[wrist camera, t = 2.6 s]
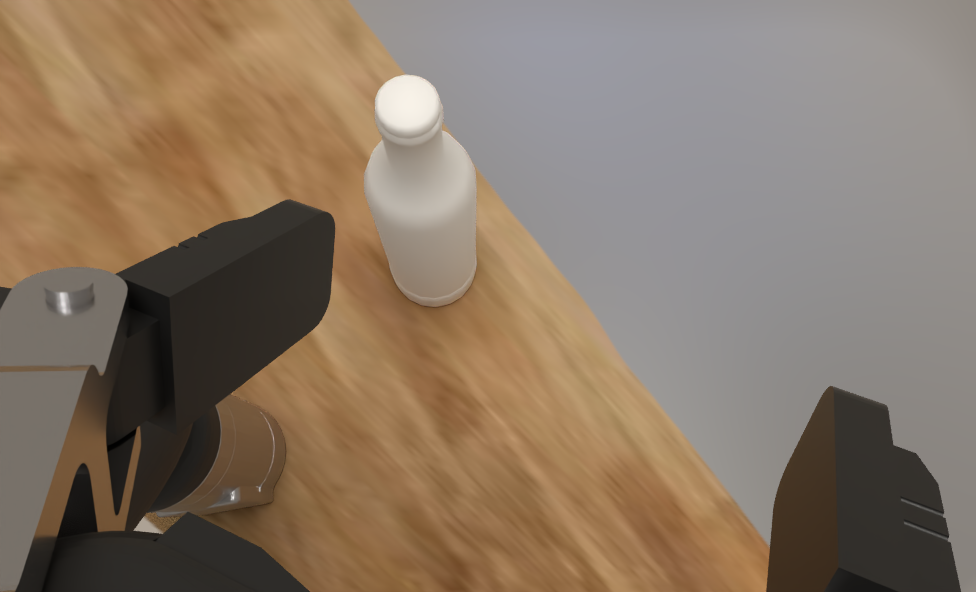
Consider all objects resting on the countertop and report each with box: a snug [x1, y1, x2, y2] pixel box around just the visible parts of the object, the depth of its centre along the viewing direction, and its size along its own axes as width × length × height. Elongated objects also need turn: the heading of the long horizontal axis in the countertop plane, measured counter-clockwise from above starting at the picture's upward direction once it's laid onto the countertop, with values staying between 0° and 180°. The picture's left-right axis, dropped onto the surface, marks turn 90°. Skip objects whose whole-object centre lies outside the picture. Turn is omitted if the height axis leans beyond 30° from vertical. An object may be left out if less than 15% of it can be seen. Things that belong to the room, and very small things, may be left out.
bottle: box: [364, 75, 477, 307], centre depth 55 cm, size 8×8×30 cm
